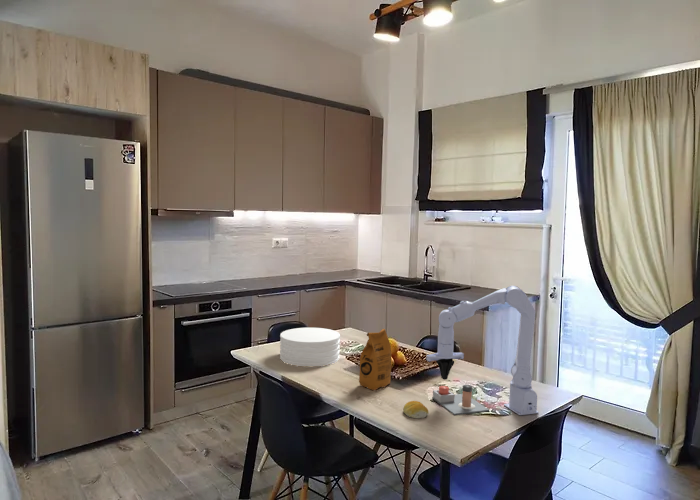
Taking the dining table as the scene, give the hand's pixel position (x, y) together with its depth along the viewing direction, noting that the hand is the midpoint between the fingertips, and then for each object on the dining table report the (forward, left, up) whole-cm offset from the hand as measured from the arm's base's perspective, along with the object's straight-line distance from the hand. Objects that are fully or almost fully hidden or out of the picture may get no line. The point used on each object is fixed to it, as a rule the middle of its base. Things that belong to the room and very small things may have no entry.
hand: (444, 378), depth 182 cm
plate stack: (+64, +36, -9) cm, 74 cm away
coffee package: (+22, +19, -8) cm, 30 cm away
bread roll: (-8, +15, -9) cm, 19 cm away
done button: (0, 0, -6) cm, 6 cm away
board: (-5, -4, -8) cm, 10 cm away
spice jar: (-8, -5, -8) cm, 12 cm away
